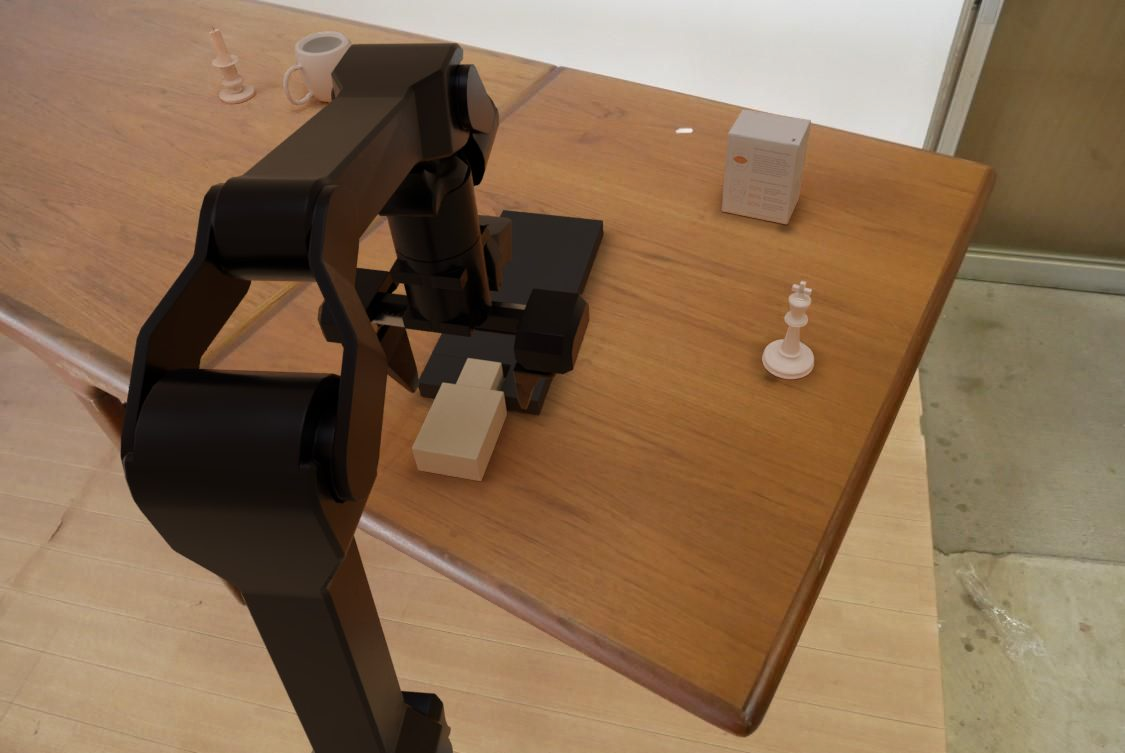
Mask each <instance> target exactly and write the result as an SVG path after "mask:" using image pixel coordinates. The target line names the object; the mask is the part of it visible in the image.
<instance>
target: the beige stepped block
mask: <svg viewBox="0 0 1125 753" xmlns="http://www.w3.org/2000/svg"><path fill="white" fill-rule="evenodd" d="M504 381H505V377H503V371H502V365H501V363H499V362H492V361H485V360H478V359H472V358H468V359H467V361H466V363H465V365H464V367H463V370H462V372H461V374H460V376H459V378H458V381H457V383H456V384H449V383H442V385H441V387H440V389H439V391H438V393H437V396H436V398H434V399H433V402H432V405H431V406H430V409H429V410H428V413H427V415H426V417H425V418H424V421H423V424H422V426H421V428H420V430H419V432H418V434H417V436H416V438H415V441H414V443H413V444H412V447H411V451H412V454H413V457H414V460H415V463H416V468H417V471H419V472H420V471H421V472H425V473H431V474H437V475H443V476H448V477H455V478H460V479H465V480H471V481H476V482H482V480H483V478H484V475H485V473H486V470H487V468H488V466H489V462H490V460H491V457H492V455H493V452H494V450H495V447H496V444H497V441H498V440H499V436H500V435H501V431H502V428H503V427H504V423H505V421H506V418H507V417H508V410H506V404H505V398H504V392H502V391H501V389H502V386H503V384H504Z"/></svg>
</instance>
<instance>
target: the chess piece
mask: <svg viewBox="0 0 1125 753" xmlns="http://www.w3.org/2000/svg"><path fill="white" fill-rule="evenodd" d="M791 291H792V293H791V294H790V295H789V296H788V299H787V300H788V301H787V302H788V305H789V309H790V310H789V311H787V312H786V314H785V315H784V317H783V320H784V322H785V323H786V325H787V326H788V328H787V331H786V333H785V336H784V337H783V338H780V339H776V340H774V341H772V342H770V343H768V345H766V347H765V348H764V350H763V353H762V356H761V360H762V361H761V362H762V364H763V367H764V369H766V371H768V372H769V373H770V374H771V375H772V376H775V377H777V378H781V379H784V380H797V379H802V378H804V377H806V376H808V375H809V374H810V373H811V372H812V371H813V369H814V366H815V356H814V353H813V351H812V349H811V348H810V347H809V346H807V345H806V344H805V343H804V342H801V340H800V339H801V328H803V327H805V326H806V325H808V322H809V318H808V315H807V314H806V311H807V310H808V309H809V308H810V306H811V304H812V298H811V297H810V296H811V295H812V291H813V289H812V288H809V287H807V281H805V280H801V281H800V282H799V284H795V283H793V285H792V286H791Z"/></svg>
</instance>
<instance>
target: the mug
mask: <svg viewBox="0 0 1125 753" xmlns="http://www.w3.org/2000/svg"><path fill="white" fill-rule="evenodd" d="M352 44H353V42H352V41H351V40H350V38H349V37H348V35H346V33H344V32H341V31H335V30H324V31H318V32H313V33H310V34H308V35H306V36H304V37H302V38H300V39H299V40H298V41H297V42H296V43H295V46H294V51H293V53H294V60H295V65H291V66H290V67H289V68H288V69H286V70H285V73H284V75H283V80H282V88H283V93H284V95H285V97H286V99H287V101H289V102H290V103H291V104H292V105H295V106H303V105H305V104H307V103H309V101H310V100H311V99H312V98H315V99H317V100H318V101H320V102H323V103H330V102H331V101H332V100H331V90H332V87H333V83H332V77H331V72H332V71H333V70H334V68H335V67H336V65H337V64H338V62H339V61H340V60H341V58H342V57H343V55H344V54H345V53H346V51H347V50H348V48H349V47H350V46H351V45H352ZM296 71H298V75H299V77H300V79H301V81H302V83H303V85H304V86H305V88H306V90H307V91H308V92H307V94H306V95H305V96H304V97H303V98H301V99H296V98H294V97H293V96H292V94H291V92H290V88H289V81H290V77H291V75H292V74H293V73H294V72H296Z"/></svg>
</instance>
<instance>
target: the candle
mask: <svg viewBox="0 0 1125 753" xmlns="http://www.w3.org/2000/svg"><path fill="white" fill-rule="evenodd" d="M211 28H212V30H210V31H209V37H210V39H211V42H212V45H213V49H214V51H215V54H216V57H215V58H214V59H213V60H212V61H211V66H213V67H214V68H219V69H220V72H221V75H222V77H223V78H222V80H221V85H222V86H223V87H224V88H223V89H222V90H221V91H220V92H219V94H218V97H219V99H220V101H221V102H222V103H224V104H229V105H233V104H234V105H235V104H240V103H244V102H246V101H249V100H250V99H252V98H253V97H254V96H255V94H256V88H255V86H254V85H252V84H250V83H245V77H244V76H243V75H242V74H239V72H238V69H237V67H236V64H237V63H238V62H239V60H240V57H239V56H238V55H236V54H230V53H229V50H228V47H227V44H226V43H225V40H224V38H223V35H222V32H221V30H220V28H215V27H214V26H211ZM241 88H242V89H241ZM240 89H241V90H240ZM238 90H239V91H238ZM231 91H234V92H231ZM235 91H236V92H235Z"/></svg>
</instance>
